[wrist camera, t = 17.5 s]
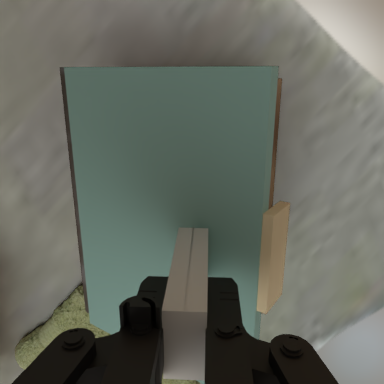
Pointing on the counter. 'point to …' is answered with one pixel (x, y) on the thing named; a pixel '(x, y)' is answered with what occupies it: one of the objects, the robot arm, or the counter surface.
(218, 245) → the lid
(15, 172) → the counter surface
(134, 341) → the robot arm
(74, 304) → the washcloth
